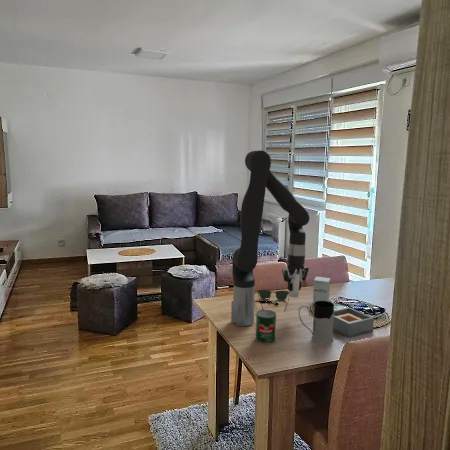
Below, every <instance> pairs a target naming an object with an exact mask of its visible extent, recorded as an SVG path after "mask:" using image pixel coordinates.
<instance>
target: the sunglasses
mask: <svg viewBox="0 0 450 450" xmlns="http://www.w3.org/2000/svg"><path fill="white" fill-rule="evenodd" d="M256 292H257V296H258V300H259V302H260V305H261V309H262V310H265V309H264V307H263V305H262V302H261V298H269V299H270V298H271V297H272V293H274V294H275V298H276V299H277V300H278V301H279V300H280V301H281V300H282V301H285V300H286V299H288V301H287V303H286V305H285V308H284V311H286V310H287V309H286V308H287V306H288V304H289V300H290V297H288V296H289V295H290V291H289V290H288V291H287V290H276V291H271V290H266V289H259V290H257V291H256ZM287 297H288V298H287Z"/></svg>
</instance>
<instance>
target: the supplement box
mask: <svg viewBox="0 0 450 450" xmlns="http://www.w3.org/2000/svg"><path fill="white" fill-rule="evenodd" d="M330 288H331V277H325V276H324V277H323V276H315V278H314V279H313V289H312V290H313V293H312V304H313V305H315V302H316V301H328V302H330V301H329V300H330V290H331V289H330Z"/></svg>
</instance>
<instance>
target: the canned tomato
mask: <svg viewBox="0 0 450 450" xmlns="http://www.w3.org/2000/svg"><path fill="white" fill-rule="evenodd" d="M255 320H256V321H255V342H257V343H259V344H264V345H268V344H271V345H272V344H274V343H275V341H276V333H277V332H276V329H277V327H276V325H277V313H276V312H275V311H274V310H270V309H264V310H263V309H262V310H258V311H257V312H256V315H255Z"/></svg>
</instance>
